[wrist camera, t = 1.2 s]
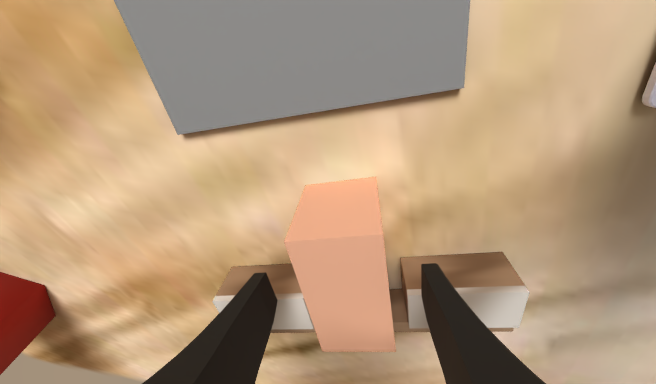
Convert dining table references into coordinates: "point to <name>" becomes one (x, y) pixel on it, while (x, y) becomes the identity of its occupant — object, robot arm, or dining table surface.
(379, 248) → the salmon pillar
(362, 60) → the slate pad
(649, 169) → the dining table surface
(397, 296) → the brown u-shaped block
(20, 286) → the french fries
